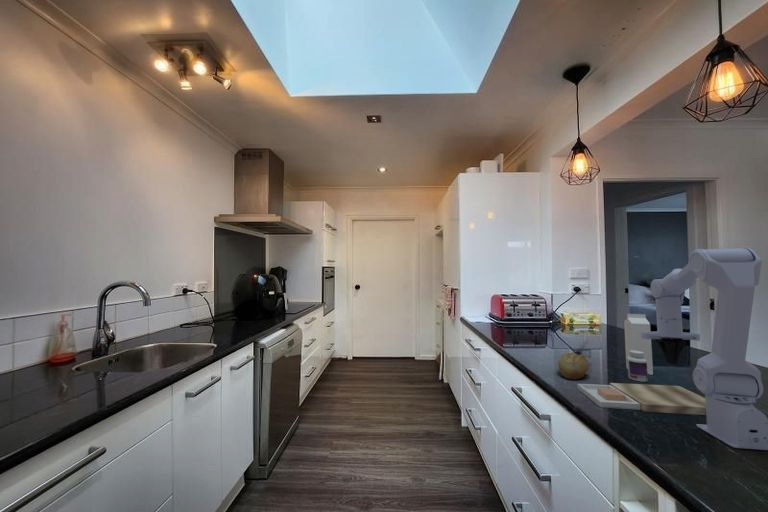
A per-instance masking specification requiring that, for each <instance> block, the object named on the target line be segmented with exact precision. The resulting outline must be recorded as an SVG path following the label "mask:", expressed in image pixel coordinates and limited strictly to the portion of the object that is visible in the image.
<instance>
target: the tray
mask: <svg viewBox="0 0 768 512" xmlns="http://www.w3.org/2000/svg"><path fill="white" fill-rule="evenodd" d="M576 385H577V386H576V388H577V390H578V391H579V392H581V393H582V394H583V395H584V396H586V397H587V398H588V399H589V400H591V401H592V402H593V403H594V404H596V405H597V406H598V407H600V408H602V409H616V410H618V409H619V410H632V411H633V410H637V411H639V410H641V409H640V404H639V403H638V402H636V401H634V400H633V399H631V398H630V397H628V396H627V395H625V394H623V393H622V392H620V391H619V390H617V389H616V388H614V387H612V386H611V385H610V384H592V383H590V384H589V383H588V384H587V383H577V384H576ZM597 388H604V389H616V390H617V391H619V392H620V393H622V394H623V395H625V401H614V400H606V399H605V398H603V397H602V396H600V395H599V394H598V391H597Z"/></svg>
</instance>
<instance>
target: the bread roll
mask: <svg viewBox="0 0 768 512" xmlns="http://www.w3.org/2000/svg"><path fill="white" fill-rule="evenodd" d="M557 365H558V370H559V372H560V374H561V375H562V377H564V378H566V379H568V380H579V379H581V378H583V377H584V376H585V375H586V374H587V372H588V371H589V368H590V363H589V361H588V359H587V358H586V355H583V354H581V353H579V354H578V353H576V352H565V353H564V354H562V355H561V356H560V358H559V360H558V364H557Z"/></svg>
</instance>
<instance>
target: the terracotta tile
mask: <svg viewBox="0 0 768 512" xmlns="http://www.w3.org/2000/svg"><path fill="white" fill-rule="evenodd" d="M597 391H598V394H599V395H600V396H602V397H603V398H605V399H606V400H614V401H625V395H623V394H622V393H620V392H619V391H617V390H616V389H604V388H597Z"/></svg>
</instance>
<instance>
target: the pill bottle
mask: <svg viewBox="0 0 768 512" xmlns="http://www.w3.org/2000/svg"><path fill="white" fill-rule="evenodd" d="M629 354H630V357H628V358H627V364H628V369H627V376H628V379H630V380H631V381H635V382H640V383H641V382H642V383H644V382H648V380H649V375H648V372H647V361H646V359H644V358H643V357H644V353H643V352H640V351H629Z"/></svg>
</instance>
